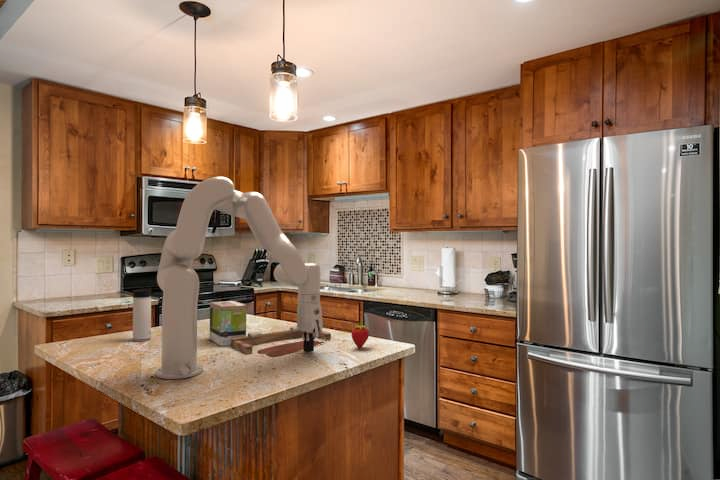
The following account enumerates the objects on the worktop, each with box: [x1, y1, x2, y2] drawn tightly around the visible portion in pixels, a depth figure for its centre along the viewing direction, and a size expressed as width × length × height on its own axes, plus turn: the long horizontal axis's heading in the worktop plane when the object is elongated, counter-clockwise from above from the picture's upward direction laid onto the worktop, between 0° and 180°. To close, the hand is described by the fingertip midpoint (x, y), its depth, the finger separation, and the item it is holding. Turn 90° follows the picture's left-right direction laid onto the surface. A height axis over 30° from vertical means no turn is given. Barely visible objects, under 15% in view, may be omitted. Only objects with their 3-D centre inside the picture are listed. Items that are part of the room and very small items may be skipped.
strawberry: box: [350, 324, 370, 349], centre depth 158 cm, size 6×8×10 cm
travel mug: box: [132, 286, 153, 343], centre depth 170 cm, size 6×7×20 cm
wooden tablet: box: [257, 340, 325, 358], centre depth 159 cm, size 27×10×2 cm, turn 141°
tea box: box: [209, 300, 248, 347], centre depth 168 cm, size 15×10×15 cm, turn 34°
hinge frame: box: [230, 325, 332, 355], centre depth 166 cm, size 14×35×4 cm, turn 129°
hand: (308, 351), depth 152 cm, fingers closed
